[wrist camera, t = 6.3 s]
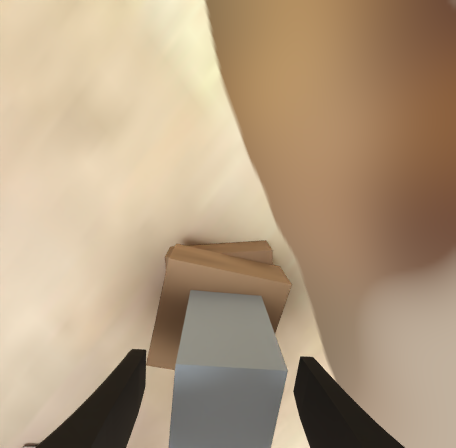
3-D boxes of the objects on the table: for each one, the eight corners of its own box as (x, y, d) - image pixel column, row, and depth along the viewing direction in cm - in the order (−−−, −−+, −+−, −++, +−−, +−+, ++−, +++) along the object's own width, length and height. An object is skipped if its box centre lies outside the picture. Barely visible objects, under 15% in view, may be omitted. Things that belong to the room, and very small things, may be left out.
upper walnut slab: (251, 352, 17) (257, 383, 15) (156, 335, 16) (146, 365, 14) (279, 266, 16) (291, 284, 13) (176, 243, 15) (168, 258, 12)
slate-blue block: (251, 354, 14) (269, 452, 9) (184, 350, 14) (168, 449, 9) (261, 295, 13) (287, 370, 8) (190, 289, 13) (175, 363, 8)
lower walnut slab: (265, 318, 19) (272, 340, 17) (181, 325, 19) (176, 348, 17) (264, 238, 18) (272, 249, 15) (171, 244, 18) (164, 257, 15)
